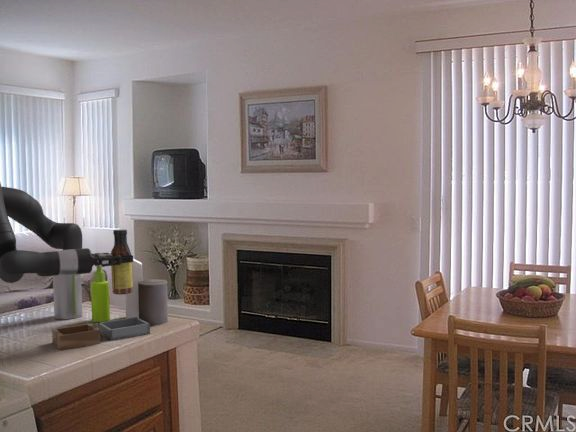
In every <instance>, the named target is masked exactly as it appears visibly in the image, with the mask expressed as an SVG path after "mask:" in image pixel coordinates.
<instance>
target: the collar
mask: <svg viewBox="0 0 576 432" xmlns="http://www.w3.org/2000/svg"><path fill="white" fill-rule="evenodd" d="M51 339H52V341H51V342H52V344H53V345H54V346H55V347H57V349H59V350H60V351H64V350H69V349H75V348H77V349H78V348H81V347H87V346H93V345H99V344H101V334H100V330H99V329H98V327H97V326H95V325H93V324H91V322H89V323H82V324H78V325H72V326H71V325H70V326H65V327H58V328H57V327H56V328H52V329H51Z"/></svg>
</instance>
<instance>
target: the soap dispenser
mask: <svg viewBox="0 0 576 432" xmlns="http://www.w3.org/2000/svg"><path fill="white" fill-rule="evenodd" d="M105 275H106V273H105V271H103V267H98V266H96V271H94V273H93V277H94V278H93V279H94V281H92V282H90V301H91V303H90V304H91V321H92V322H94V323H101V322H107V321H111V314H110V312H111V310H110V309H111V308H110V282H109V281H108V280H106V276H105Z"/></svg>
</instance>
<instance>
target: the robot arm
mask: <svg viewBox="0 0 576 432" xmlns="http://www.w3.org/2000/svg"><path fill="white" fill-rule="evenodd" d="M9 218H10V219H12V220H13V221H14V222H16V223H18V224H20V225H21V226H22V227H24V228H25V229H27V230H29V231H30V232H32V233H34V234H35V236H37V237H39V238H40V239H41V241H43V242H44V243H45V244H47V245H48V246H49V247H51V248H52V249H57V250H58V251H45V252H44V251H43V252H39V251H33V250H21V249H20V250H18V249H17V238H16V235H15V232H14V229H13V227H12V223H11V222H10V219H9ZM114 259H117V262H114ZM133 259H134V254H133V255H132V254H131V255H124V256H120V255H118V256H113V254H111V252H95V253H92V251H91V249H90V248H83V231H82V228H81V227H80V226H79V225H78V224H77V223H74V222H56V221H54V220H52V219H51V218H49V217H48V216H46V215H45V214H44V210H43V206H42V205H41V203H40V202H39V201H38V200H37V199H36V198H34V197H33V196H32V195H31V194H29V193H28V192H26V191H24V190H22V189H18V188H13V187H7V186H2V183H1V182H0V280H1V281H3V282H5V283H7V284H8V283H9V284H13V283H16V282H19V281H21V279H22V278H23V277H24V275H25V274H36V275H37V276H39V277H52V290H53V311H54V312H53V313H54V314H53V315H54V316H53V318H54V319H56V320H70V319H75V318H80V317H81V316H83V300H82V298H83V297H82V294H83V293H82V275H83V274H84V275H85V274H90V273H91V272H92V271H93V267H94V266H95V267H97V266H98V267H102V268H105V267H111V266H113V265H121V263H129V262H133Z"/></svg>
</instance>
